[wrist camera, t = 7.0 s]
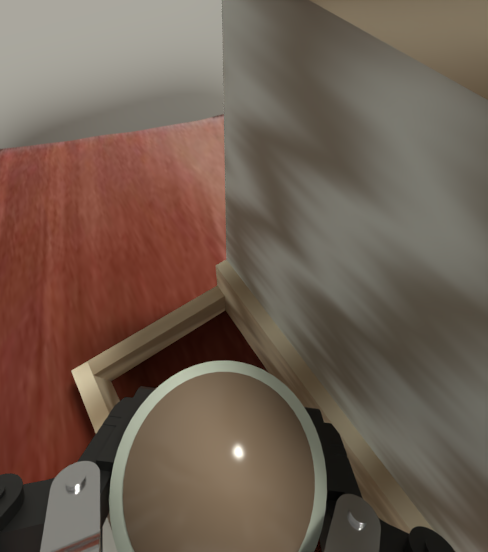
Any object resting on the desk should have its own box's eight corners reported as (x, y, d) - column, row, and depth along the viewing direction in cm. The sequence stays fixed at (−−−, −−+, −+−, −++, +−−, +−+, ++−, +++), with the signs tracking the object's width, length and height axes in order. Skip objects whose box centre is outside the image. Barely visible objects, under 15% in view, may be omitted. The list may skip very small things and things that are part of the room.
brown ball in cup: (143, 430, 15) (74, 439, 8) (238, 364, 18) (247, 325, 10) (202, 556, 13) (175, 719, 6) (303, 464, 15) (373, 502, 8)
